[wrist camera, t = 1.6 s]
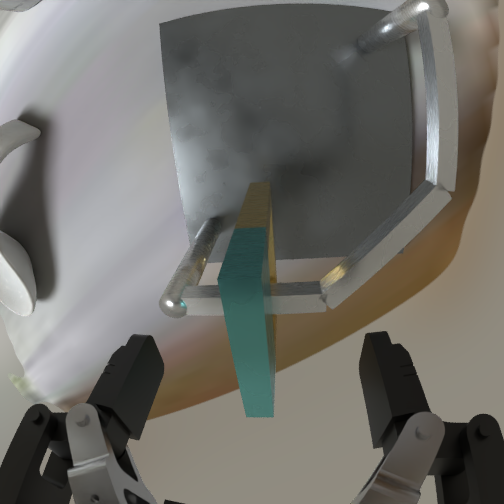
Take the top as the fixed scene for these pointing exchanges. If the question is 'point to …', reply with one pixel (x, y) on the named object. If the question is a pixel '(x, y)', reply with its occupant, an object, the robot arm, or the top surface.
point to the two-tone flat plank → (252, 300)
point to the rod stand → (306, 138)
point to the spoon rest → (8, 249)
